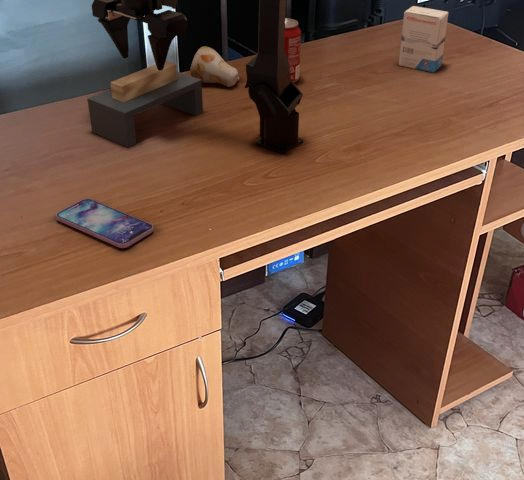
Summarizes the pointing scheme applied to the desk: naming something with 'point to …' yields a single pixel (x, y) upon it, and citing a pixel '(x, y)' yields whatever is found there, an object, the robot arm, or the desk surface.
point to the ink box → (423, 38)
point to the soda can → (292, 47)
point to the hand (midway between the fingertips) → (142, 63)
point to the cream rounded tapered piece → (212, 68)
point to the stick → (143, 81)
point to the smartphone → (105, 223)
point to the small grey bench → (141, 107)
